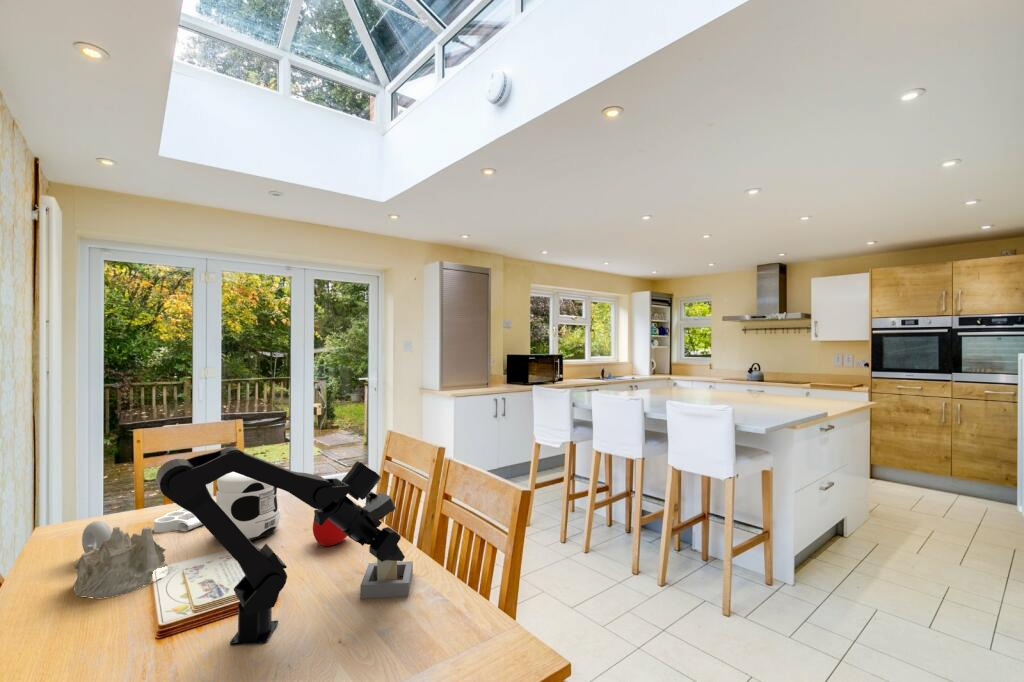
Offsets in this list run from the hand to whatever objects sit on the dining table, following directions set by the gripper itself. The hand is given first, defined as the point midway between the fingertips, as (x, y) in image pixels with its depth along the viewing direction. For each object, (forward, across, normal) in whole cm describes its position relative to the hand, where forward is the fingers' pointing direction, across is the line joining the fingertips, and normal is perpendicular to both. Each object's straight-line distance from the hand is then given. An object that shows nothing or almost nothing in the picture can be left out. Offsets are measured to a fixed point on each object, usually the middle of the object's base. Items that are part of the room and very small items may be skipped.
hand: (393, 552), depth 111 cm
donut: (-31, +61, +42) cm, 80 cm away
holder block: (+4, 0, +6) cm, 7 cm away
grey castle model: (-28, +43, +39) cm, 65 cm away
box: (+4, 0, +6) cm, 8 cm away
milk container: (-8, +54, +19) cm, 57 cm away
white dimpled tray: (-15, +76, +27) cm, 82 cm away
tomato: (+4, +32, +7) cm, 33 cm away
